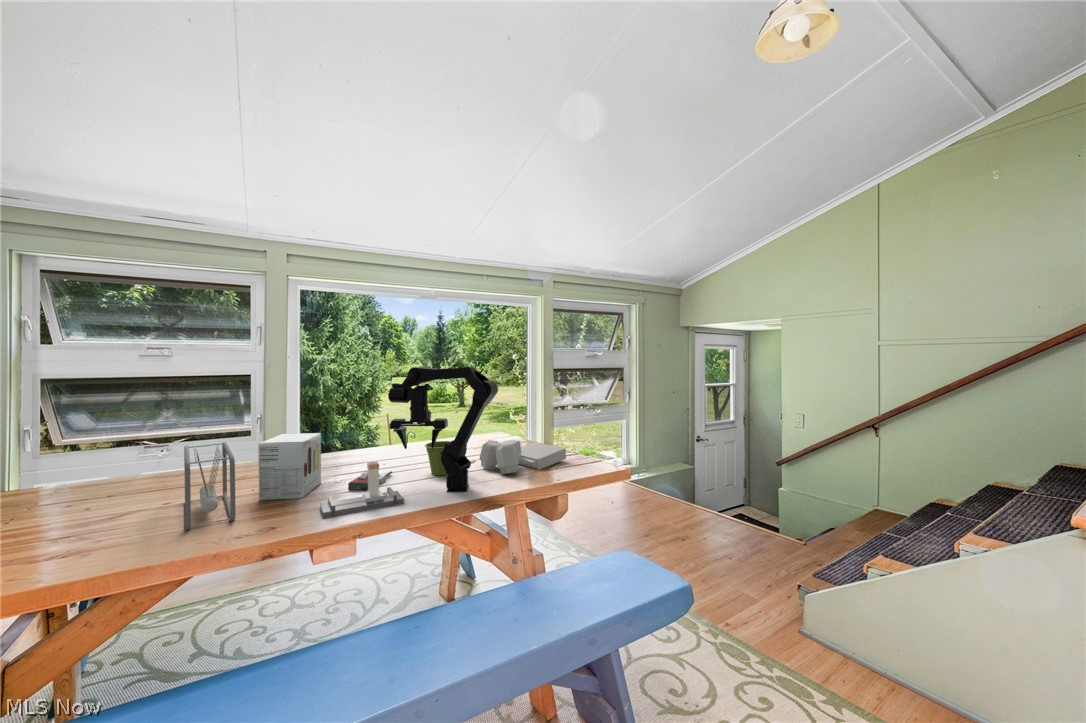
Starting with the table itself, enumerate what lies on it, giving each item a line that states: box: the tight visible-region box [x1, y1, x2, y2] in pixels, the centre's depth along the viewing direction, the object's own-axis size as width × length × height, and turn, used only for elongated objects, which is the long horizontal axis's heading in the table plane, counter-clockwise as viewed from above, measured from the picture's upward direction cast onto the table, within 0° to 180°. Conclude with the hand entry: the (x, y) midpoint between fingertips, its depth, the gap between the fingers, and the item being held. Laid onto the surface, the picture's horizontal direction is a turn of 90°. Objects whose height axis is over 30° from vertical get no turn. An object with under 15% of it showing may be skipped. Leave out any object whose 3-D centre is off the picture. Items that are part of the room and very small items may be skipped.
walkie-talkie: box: [347, 470, 393, 492], centre depth 152 cm, size 9×4×20 cm
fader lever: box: [362, 461, 384, 503], centre depth 130 cm, size 5×6×11 cm
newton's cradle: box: [183, 441, 236, 531], centre depth 124 cm, size 30×10×18 cm, turn 40°
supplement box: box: [258, 432, 322, 501], centre depth 142 cm, size 17×13×18 cm
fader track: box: [319, 486, 405, 519], centre depth 128 cm, size 22×9×3 cm, turn 122°
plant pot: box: [424, 440, 451, 476], centre depth 164 cm, size 12×12×11 cm
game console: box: [478, 439, 567, 475], centre depth 175 cm, size 20×32×13 cm, turn 135°
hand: (419, 448), depth 147 cm, fingers open, 9 cm apart
